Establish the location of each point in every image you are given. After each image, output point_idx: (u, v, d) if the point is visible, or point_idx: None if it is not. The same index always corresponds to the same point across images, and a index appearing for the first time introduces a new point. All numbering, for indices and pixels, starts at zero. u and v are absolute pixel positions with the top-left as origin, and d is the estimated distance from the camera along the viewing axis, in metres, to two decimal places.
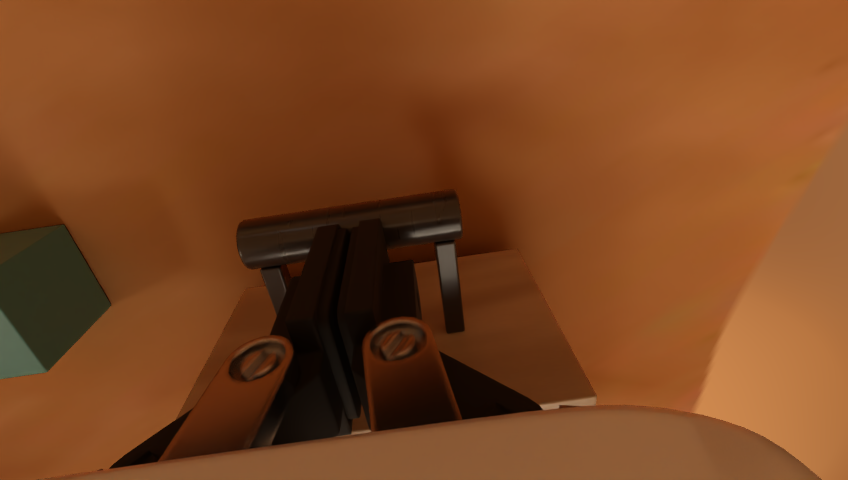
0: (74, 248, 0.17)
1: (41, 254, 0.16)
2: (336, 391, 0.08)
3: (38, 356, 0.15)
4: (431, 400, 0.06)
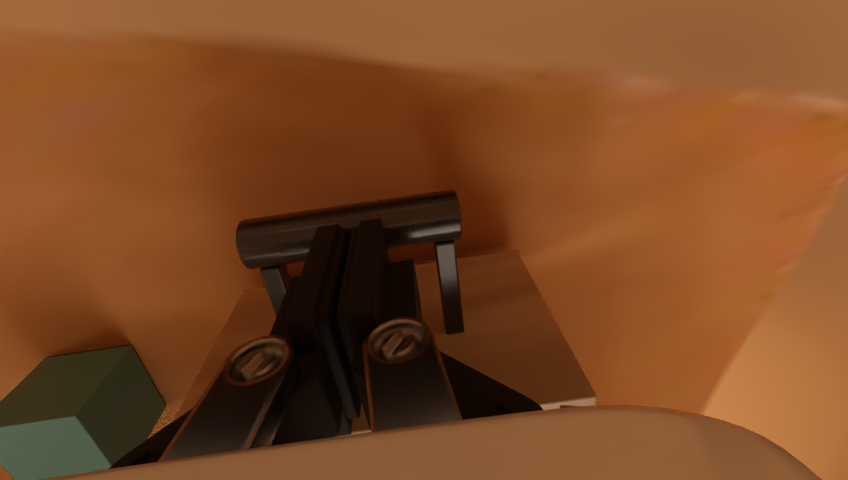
0: (139, 364, 0.20)
1: (116, 378, 0.18)
2: (336, 391, 0.08)
3: None
4: (431, 400, 0.06)
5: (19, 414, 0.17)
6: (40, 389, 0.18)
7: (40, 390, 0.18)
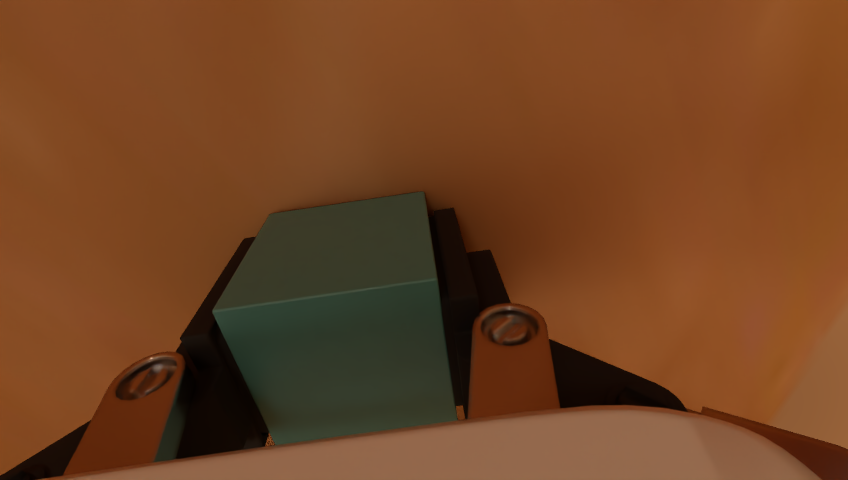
0: None
1: None
2: (242, 406, 0.08)
3: None
4: (533, 393, 0.06)
5: None
6: None
7: None
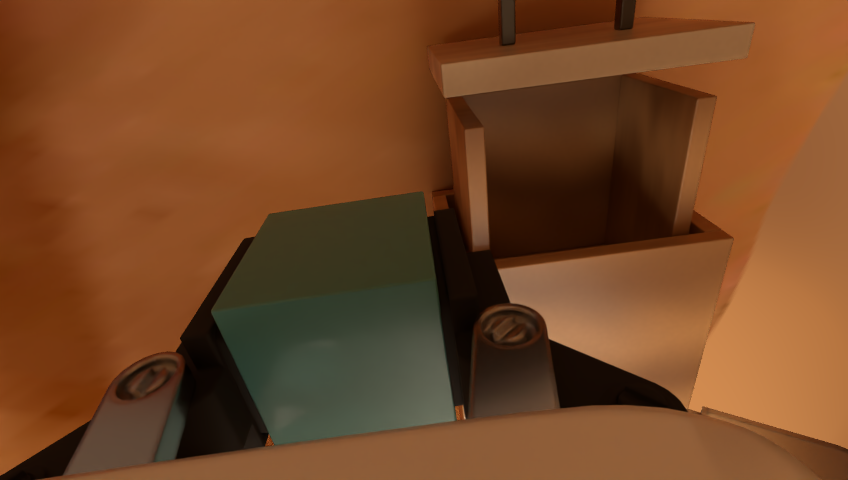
0: None
1: None
2: (242, 406, 0.08)
3: None
4: (533, 393, 0.06)
5: None
6: None
7: None
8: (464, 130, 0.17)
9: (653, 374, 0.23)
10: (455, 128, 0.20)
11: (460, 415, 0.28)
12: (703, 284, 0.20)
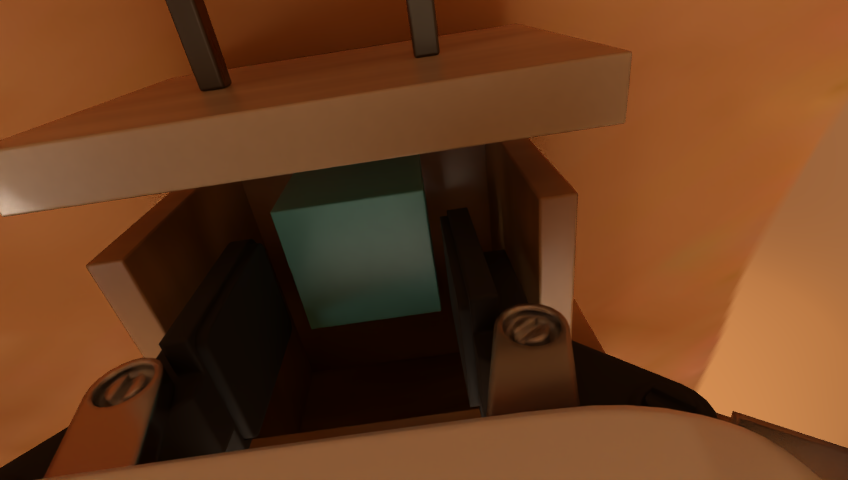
0: None
1: None
2: (223, 412, 0.08)
3: (333, 325, 0.13)
4: (553, 395, 0.06)
5: None
6: None
7: None
8: (90, 265, 0.09)
9: None
10: None
11: None
12: None
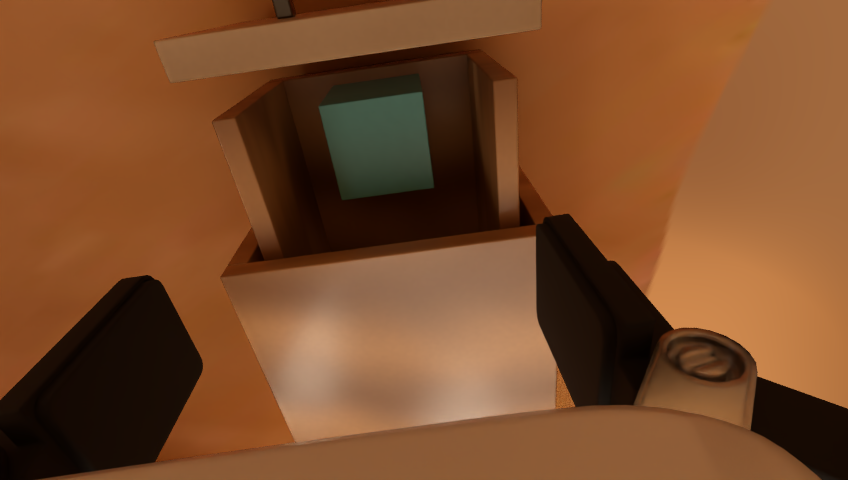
0: None
1: None
2: None
3: None
4: None
5: None
6: None
7: None
8: (213, 122, 0.14)
9: (503, 389, 0.19)
10: None
11: None
12: None
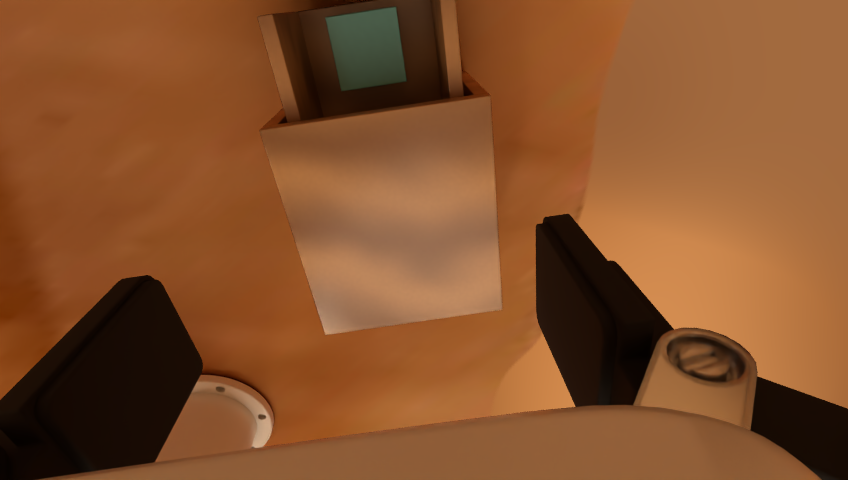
0: None
1: None
2: None
3: (352, 89, 0.26)
4: None
5: None
6: None
7: None
8: (258, 17, 0.22)
9: (459, 230, 0.27)
10: None
11: None
12: (477, 140, 0.24)
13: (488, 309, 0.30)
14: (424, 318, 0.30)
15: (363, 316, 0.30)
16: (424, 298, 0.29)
